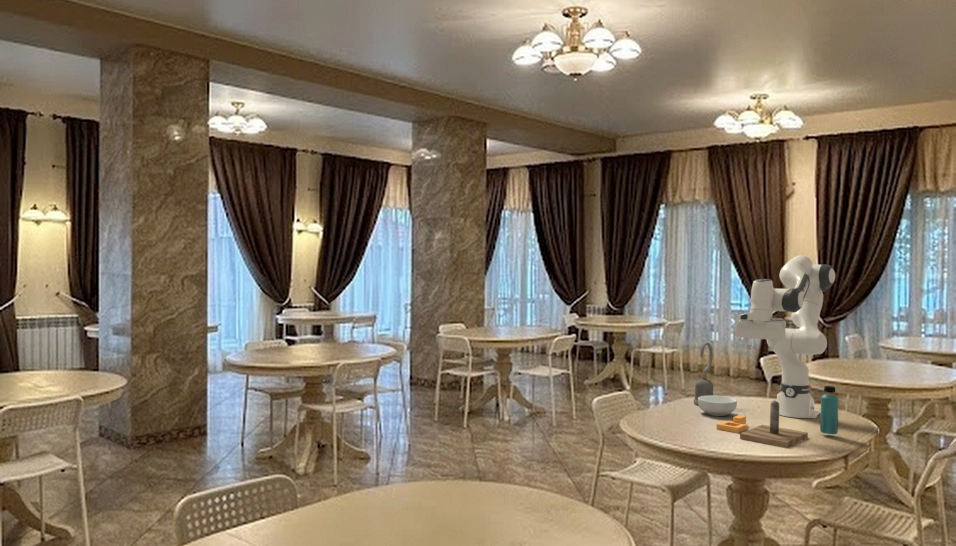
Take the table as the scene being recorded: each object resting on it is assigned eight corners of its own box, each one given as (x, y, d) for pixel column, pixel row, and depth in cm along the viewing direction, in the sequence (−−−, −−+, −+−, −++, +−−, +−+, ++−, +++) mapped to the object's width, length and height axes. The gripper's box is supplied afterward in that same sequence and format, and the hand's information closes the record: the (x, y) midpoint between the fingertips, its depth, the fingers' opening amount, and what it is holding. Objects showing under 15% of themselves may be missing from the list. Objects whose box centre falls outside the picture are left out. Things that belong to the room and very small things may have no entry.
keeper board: (762, 429, 296) (763, 394, 296) (807, 437, 284) (808, 400, 284) (739, 438, 280) (740, 401, 280) (787, 447, 268) (788, 408, 268)
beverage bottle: (839, 438, 283) (841, 388, 283) (821, 437, 285) (823, 387, 284) (835, 434, 290) (836, 385, 289) (817, 433, 291) (819, 384, 291)
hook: (719, 404, 347) (721, 342, 347) (708, 407, 339) (710, 344, 338) (701, 401, 354) (702, 340, 353) (689, 404, 345) (690, 342, 345)
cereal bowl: (697, 409, 335) (697, 394, 335) (735, 411, 330) (735, 396, 330) (698, 416, 318) (698, 400, 318) (737, 419, 314) (738, 403, 314)
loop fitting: (732, 423, 307) (732, 413, 307) (752, 426, 301) (753, 417, 300) (716, 428, 296) (716, 419, 296) (737, 432, 290) (738, 423, 290)
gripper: (789, 318, 298) (787, 352, 297) (740, 316, 311) (738, 348, 310) (783, 317, 293) (782, 351, 292) (734, 315, 307) (732, 347, 306)
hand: (759, 349), depth 301 cm, fingers open, 8 cm apart
